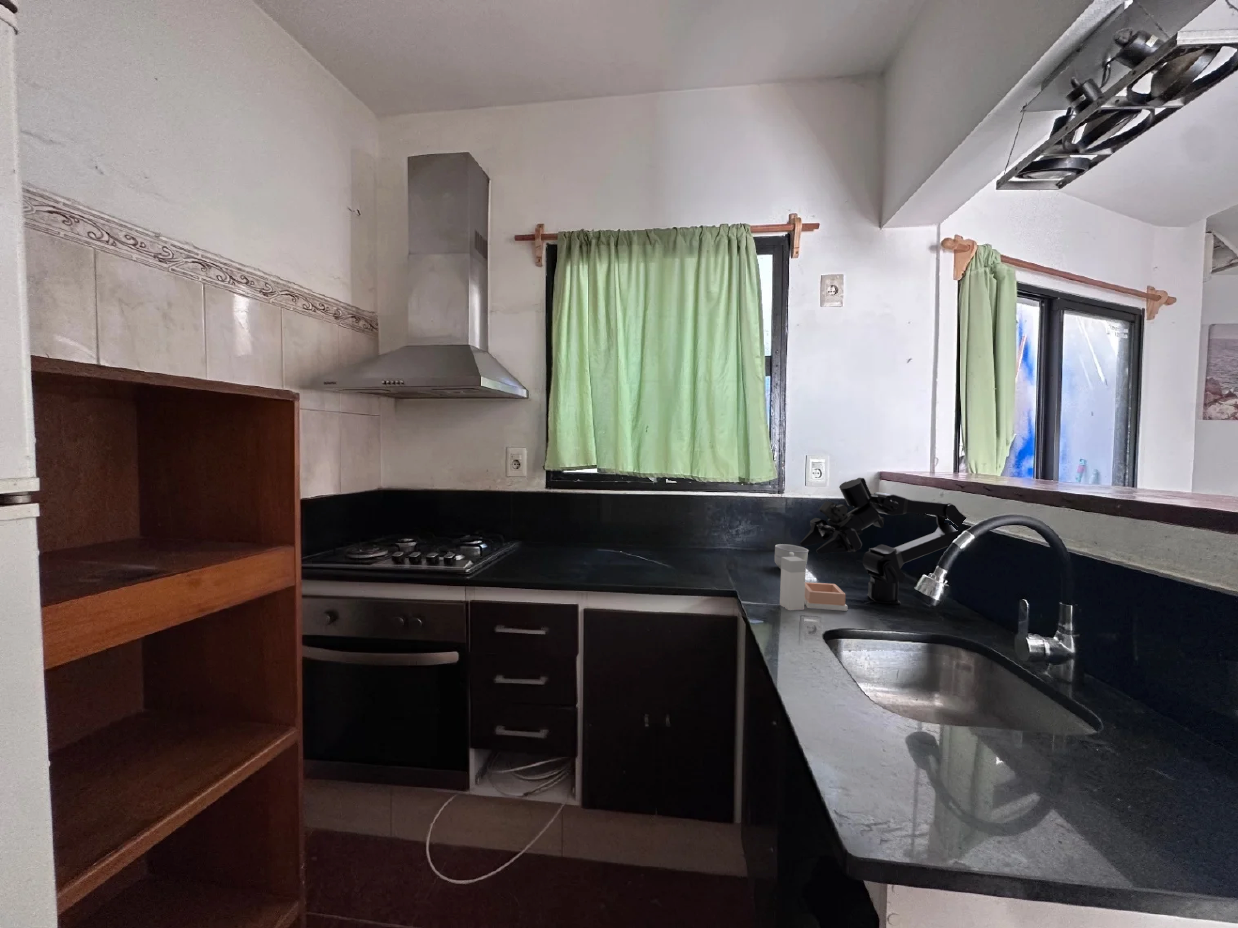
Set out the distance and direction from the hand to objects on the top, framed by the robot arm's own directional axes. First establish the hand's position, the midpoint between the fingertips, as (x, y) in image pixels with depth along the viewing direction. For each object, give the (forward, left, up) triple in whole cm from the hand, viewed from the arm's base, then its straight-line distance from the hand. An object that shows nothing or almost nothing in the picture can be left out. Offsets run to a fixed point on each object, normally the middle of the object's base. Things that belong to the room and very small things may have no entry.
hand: (808, 548), depth 127 cm
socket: (-4, 0, -15) cm, 15 cm away
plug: (+5, +5, -15) cm, 16 cm away
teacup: (-2, -32, -15) cm, 35 cm away
